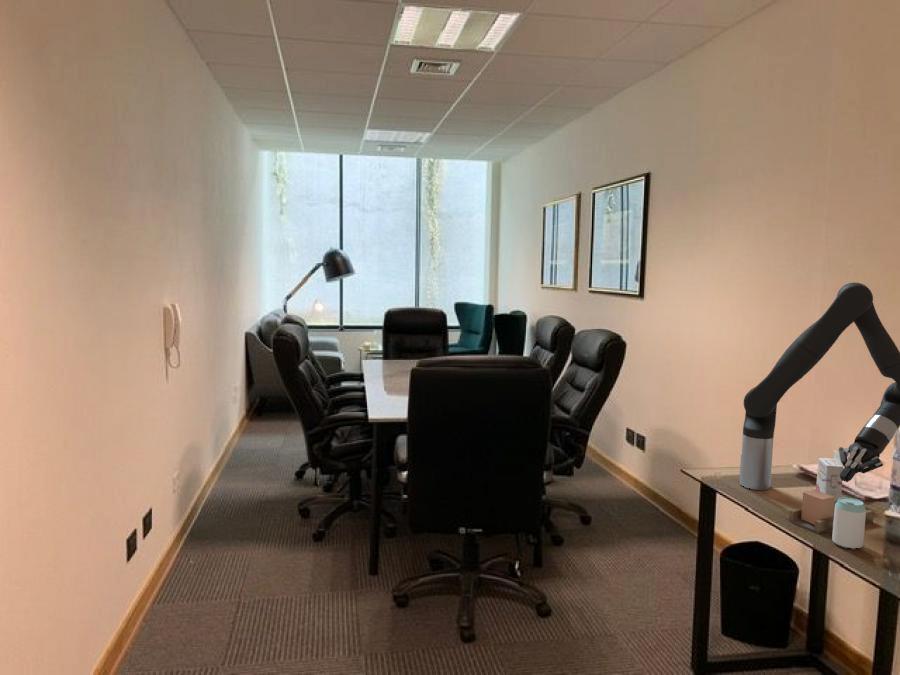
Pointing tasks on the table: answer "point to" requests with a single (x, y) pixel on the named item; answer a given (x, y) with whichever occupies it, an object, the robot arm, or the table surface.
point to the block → (817, 506)
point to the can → (849, 523)
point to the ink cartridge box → (830, 476)
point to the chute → (820, 521)
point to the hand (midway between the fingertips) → (843, 479)
